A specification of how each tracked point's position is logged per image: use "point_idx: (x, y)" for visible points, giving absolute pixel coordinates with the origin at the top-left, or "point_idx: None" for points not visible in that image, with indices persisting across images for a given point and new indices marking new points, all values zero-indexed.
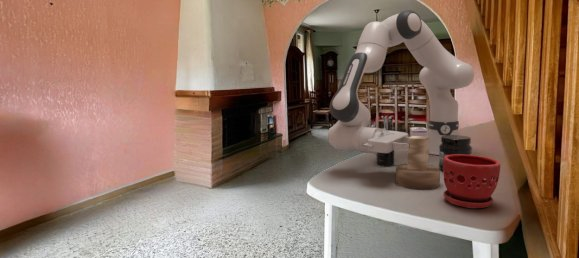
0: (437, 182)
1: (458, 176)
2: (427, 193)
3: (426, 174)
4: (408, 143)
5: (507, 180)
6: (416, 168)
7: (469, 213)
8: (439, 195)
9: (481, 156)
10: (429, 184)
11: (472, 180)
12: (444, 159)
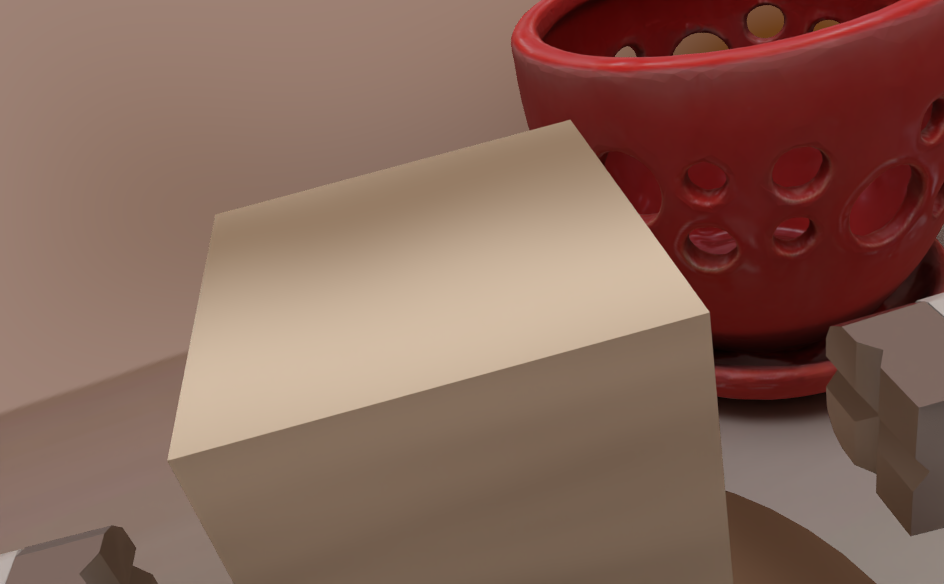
0: None
1: None
2: (862, 564)
3: (748, 504)
4: (884, 313)
5: (43, 402)
6: None
7: (940, 237)
8: (802, 475)
9: (526, 23)
10: None
11: None
12: (941, 11)
